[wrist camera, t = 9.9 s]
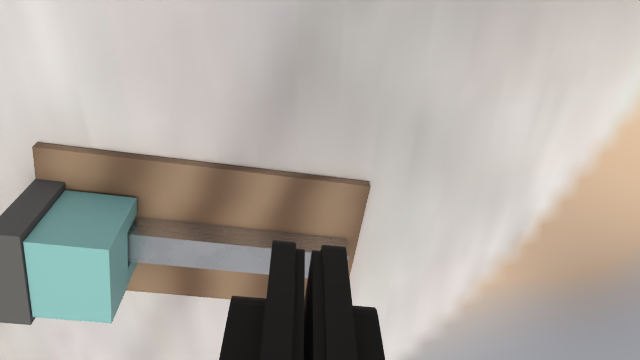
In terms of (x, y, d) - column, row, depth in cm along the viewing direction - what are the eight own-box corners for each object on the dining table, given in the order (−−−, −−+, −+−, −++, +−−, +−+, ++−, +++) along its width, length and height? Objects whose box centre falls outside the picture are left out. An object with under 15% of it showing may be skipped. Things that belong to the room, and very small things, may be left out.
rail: (345, 238, 40) (348, 256, 38) (340, 262, 41) (343, 281, 39) (67, 209, 37) (53, 227, 35) (69, 236, 39) (56, 254, 36)
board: (368, 181, 39) (370, 186, 38) (340, 302, 44) (341, 308, 43) (37, 142, 36) (32, 146, 35) (51, 277, 41) (46, 283, 40)
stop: (65, 182, 36) (19, 236, 30) (71, 260, 40) (30, 324, 33) (35, 178, 36) (-17, 233, 30) (44, 258, 39) (-2, 322, 33)
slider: (136, 197, 37) (108, 250, 31) (137, 263, 40) (111, 323, 34) (65, 190, 36) (23, 242, 31) (70, 257, 39) (32, 316, 33)
